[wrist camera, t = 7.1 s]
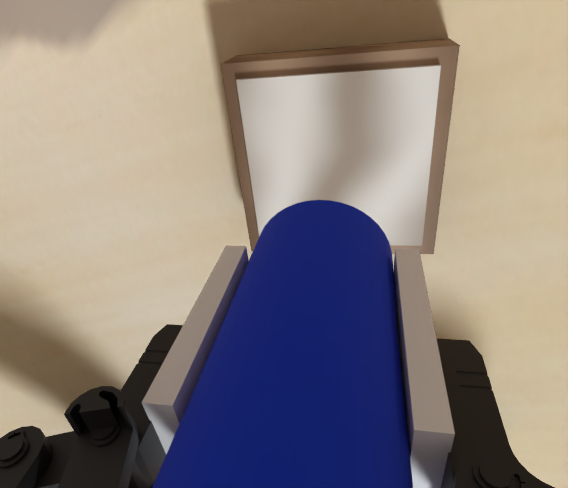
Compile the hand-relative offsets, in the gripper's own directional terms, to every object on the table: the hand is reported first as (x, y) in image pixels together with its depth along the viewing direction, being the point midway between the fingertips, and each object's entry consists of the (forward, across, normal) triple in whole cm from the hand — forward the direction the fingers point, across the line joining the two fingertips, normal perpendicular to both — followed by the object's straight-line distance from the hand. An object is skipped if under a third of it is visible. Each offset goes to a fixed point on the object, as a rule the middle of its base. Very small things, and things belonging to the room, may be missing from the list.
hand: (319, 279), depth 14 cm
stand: (+14, 0, 0) cm, 14 cm away
